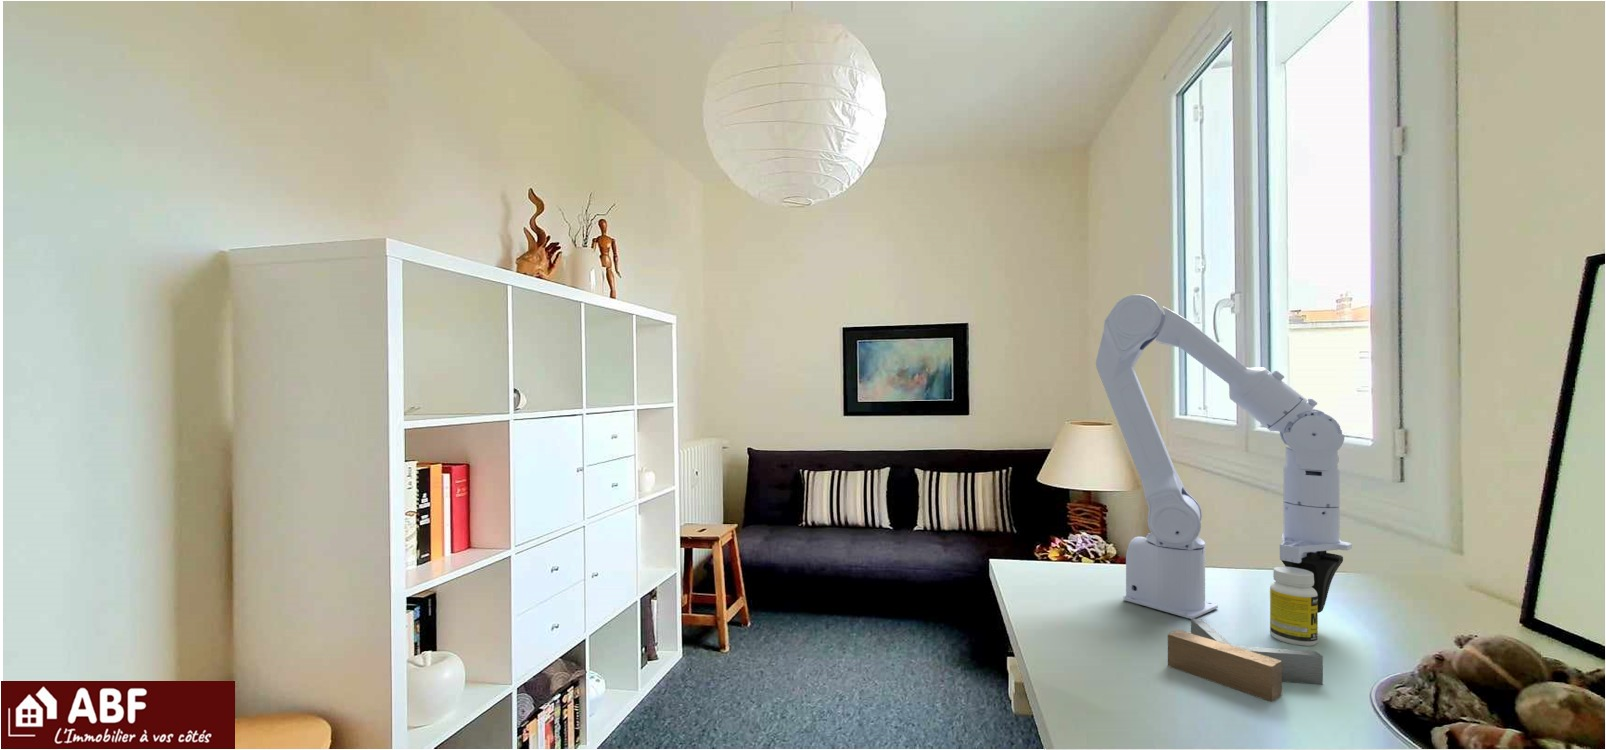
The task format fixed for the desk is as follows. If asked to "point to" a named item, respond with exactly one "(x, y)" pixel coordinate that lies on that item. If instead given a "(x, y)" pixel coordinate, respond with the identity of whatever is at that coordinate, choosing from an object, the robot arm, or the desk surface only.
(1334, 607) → the desk surface
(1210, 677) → the v block
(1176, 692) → the desk surface
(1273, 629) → the supplement bottle
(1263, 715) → the desk surface
